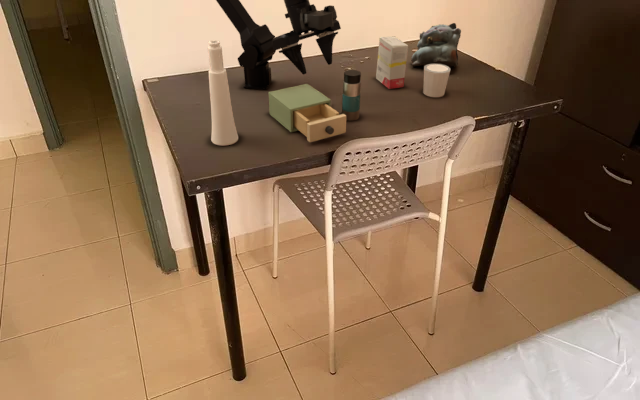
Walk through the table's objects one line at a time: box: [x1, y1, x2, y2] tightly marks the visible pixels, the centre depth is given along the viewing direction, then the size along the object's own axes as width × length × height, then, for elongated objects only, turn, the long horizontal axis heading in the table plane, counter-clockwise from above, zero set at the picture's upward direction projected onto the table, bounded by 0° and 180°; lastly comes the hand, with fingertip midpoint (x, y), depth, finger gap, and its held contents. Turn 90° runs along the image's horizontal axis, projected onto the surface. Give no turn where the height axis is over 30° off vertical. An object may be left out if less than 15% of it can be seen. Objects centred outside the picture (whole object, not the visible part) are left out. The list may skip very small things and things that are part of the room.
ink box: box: [375, 36, 409, 90], centre depth 138 cm, size 9×5×12 cm, turn 19°
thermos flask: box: [341, 69, 362, 122], centre depth 120 cm, size 4×4×11 cm
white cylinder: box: [422, 64, 451, 98], centre depth 134 cm, size 7×7×7 cm
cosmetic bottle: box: [207, 39, 239, 147], centre depth 107 cm, size 6×6×22 cm
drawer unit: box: [268, 83, 332, 133], centre depth 121 cm, size 11×11×6 cm
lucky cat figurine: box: [410, 22, 462, 68], centre depth 150 cm, size 15×12×14 cm
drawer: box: [293, 103, 347, 143], centre depth 115 cm, size 12×10×4 cm
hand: (317, 69), depth 125 cm, fingers open, 9 cm apart
